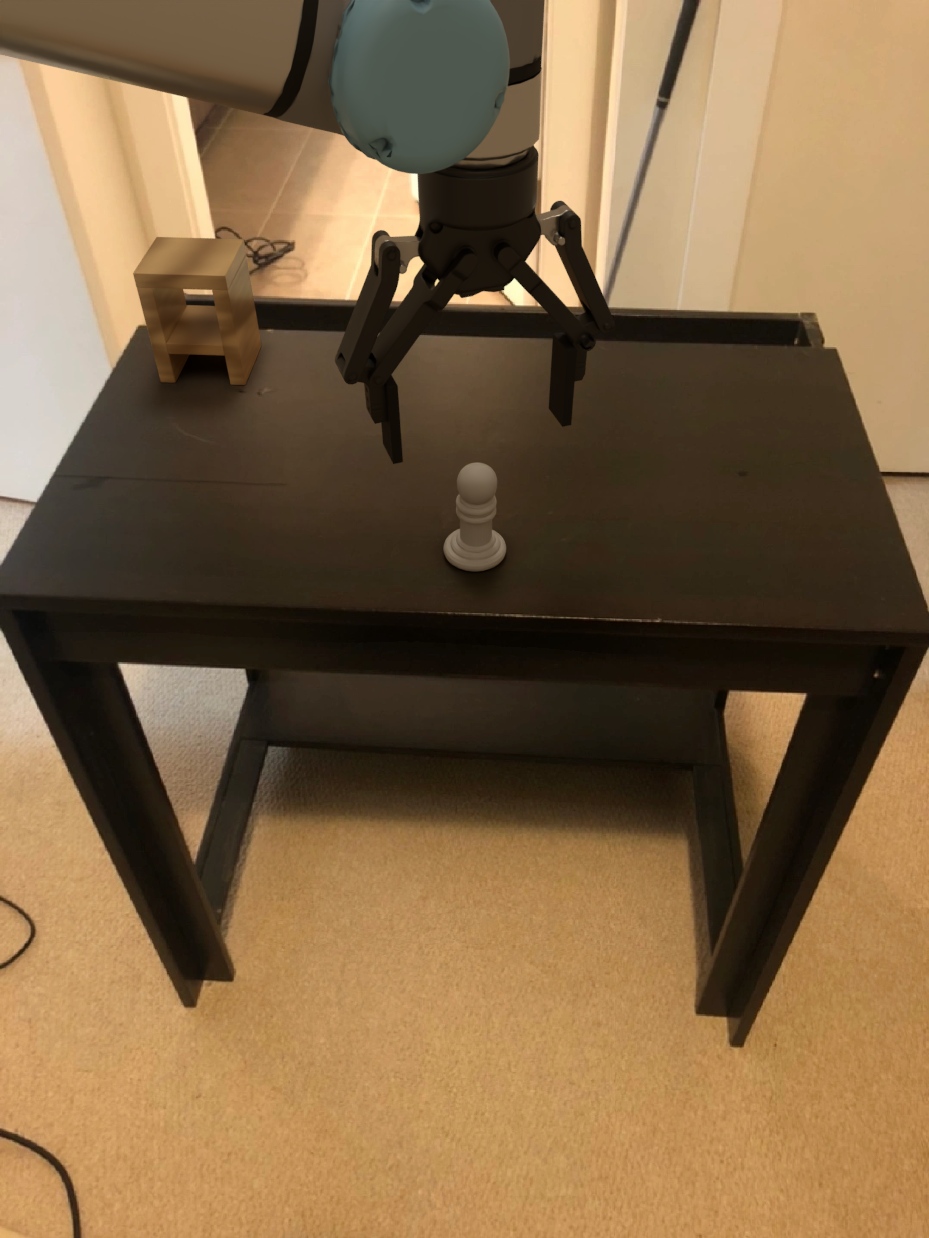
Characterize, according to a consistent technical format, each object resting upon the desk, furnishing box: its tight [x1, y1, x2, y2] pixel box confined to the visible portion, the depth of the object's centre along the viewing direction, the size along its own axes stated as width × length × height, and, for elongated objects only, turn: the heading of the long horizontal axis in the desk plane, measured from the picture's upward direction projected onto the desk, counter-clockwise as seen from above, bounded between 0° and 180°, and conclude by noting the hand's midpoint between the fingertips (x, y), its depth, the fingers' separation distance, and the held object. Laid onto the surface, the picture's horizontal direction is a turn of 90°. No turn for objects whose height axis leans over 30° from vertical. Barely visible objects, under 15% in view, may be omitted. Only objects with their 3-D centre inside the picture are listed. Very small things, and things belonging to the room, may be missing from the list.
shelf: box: [132, 236, 262, 386], centre depth 101 cm, size 9×8×12 cm
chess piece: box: [442, 462, 507, 572], centre depth 80 cm, size 5×5×9 cm
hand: (478, 435), depth 75 cm, fingers open, 13 cm apart
